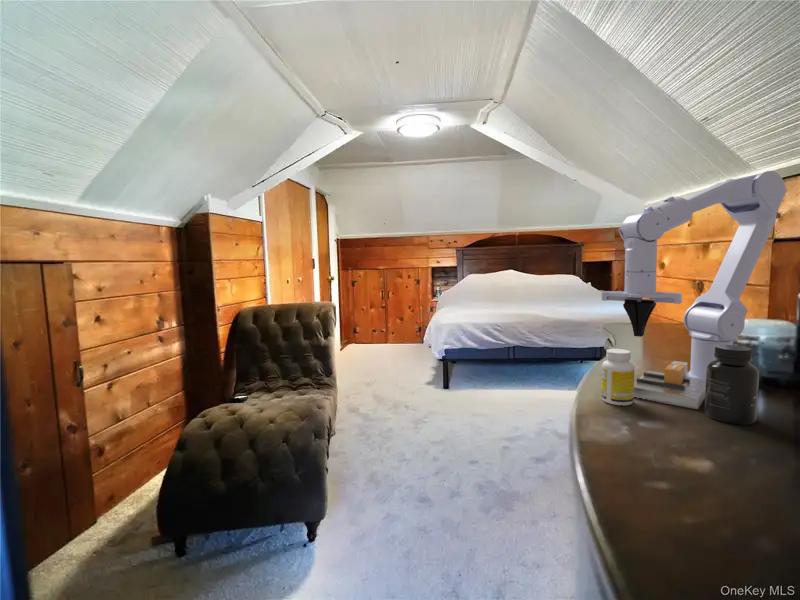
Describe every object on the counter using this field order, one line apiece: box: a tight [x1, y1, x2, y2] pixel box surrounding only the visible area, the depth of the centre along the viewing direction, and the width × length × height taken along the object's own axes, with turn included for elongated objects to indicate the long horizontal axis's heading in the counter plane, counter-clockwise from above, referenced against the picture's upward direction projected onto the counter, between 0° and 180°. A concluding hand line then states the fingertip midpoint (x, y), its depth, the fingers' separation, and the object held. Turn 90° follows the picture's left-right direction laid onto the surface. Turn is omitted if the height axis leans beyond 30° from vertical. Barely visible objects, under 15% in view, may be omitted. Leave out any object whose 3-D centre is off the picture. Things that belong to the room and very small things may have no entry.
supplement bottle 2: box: [704, 344, 760, 426], centre depth 68 cm, size 7×7×12 cm
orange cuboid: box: [663, 364, 684, 385], centre depth 81 cm, size 4×2×3 cm, turn 136°
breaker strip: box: [634, 360, 706, 410], centre depth 81 cm, size 14×11×5 cm
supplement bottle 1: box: [601, 348, 635, 407], centre depth 77 cm, size 5×5×10 cm
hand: (638, 335), depth 87 cm, fingers closed
